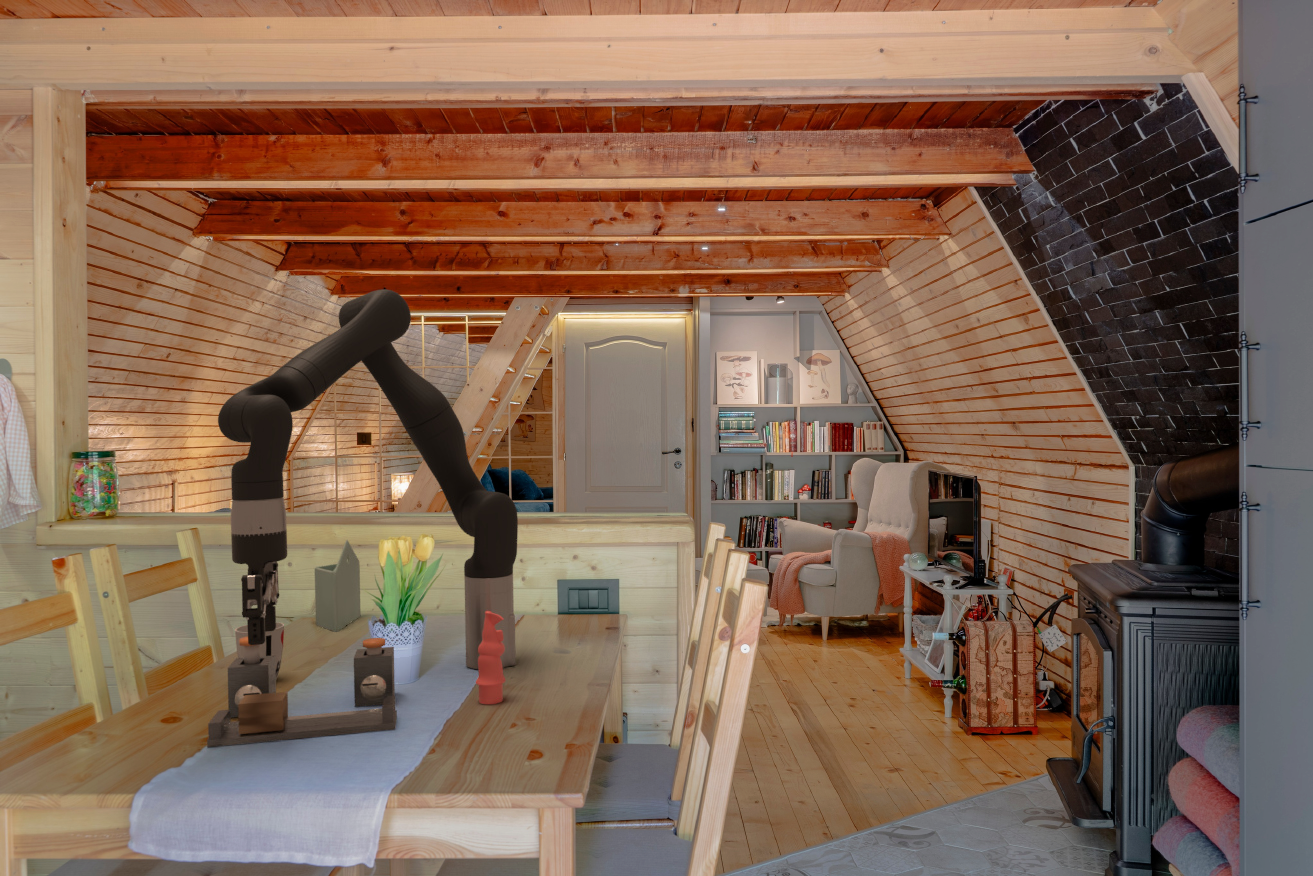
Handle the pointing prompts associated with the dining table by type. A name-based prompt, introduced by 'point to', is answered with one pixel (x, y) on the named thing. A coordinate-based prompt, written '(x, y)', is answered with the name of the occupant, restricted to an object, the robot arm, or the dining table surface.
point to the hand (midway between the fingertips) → (262, 637)
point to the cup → (265, 643)
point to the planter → (338, 591)
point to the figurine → (491, 661)
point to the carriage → (263, 712)
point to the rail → (305, 725)
